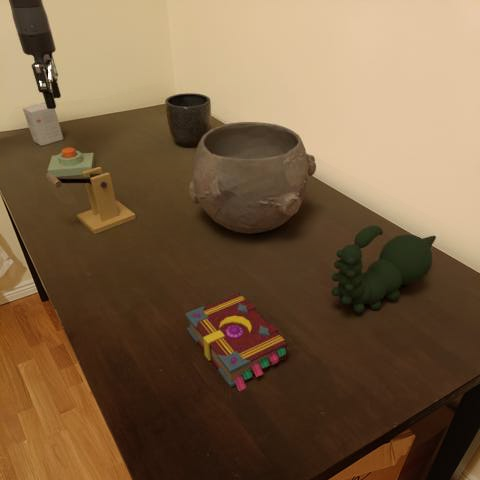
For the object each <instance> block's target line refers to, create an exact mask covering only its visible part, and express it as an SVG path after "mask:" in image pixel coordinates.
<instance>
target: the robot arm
mask: <svg viewBox="0 0 480 480" xmlns="http://www.w3.org/2000/svg"><path fill="white" fill-rule="evenodd" d="M8 4H9V6H10V10H11V16H12V20H13V23H14V27H15V30H16V32H17V36H18V39H19V42H20V45H21V50H22V52H23V53H24V54H25V55H26V56H32V57H33V61H34V62H33V63H32V64H31V69H32V72H33V75H34V79H35V82H36V86H37V90H38V92H39V93H41V94H42V96H43V99H44V103H46V106H47V108H48V109H55V110H56V108H57V103H56V101H55V99H60V98H62V95H61V91H60V86H59V83H58V80H59V79H58V78H59V73H58V70H57V66H56V64H55V60H54V56H53V53H55V52H56V50H57V48H56V44H55V40H54V37H53V33H52V29H51V25H50V21H49V17H48V14H47V11H46V9H45V6H44V2H43V0H8ZM44 85H45V86H44Z"/></svg>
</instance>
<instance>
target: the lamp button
mask: <svg viewBox="0 0 480 480" xmlns="http://www.w3.org/2000/svg"><path fill="white" fill-rule="evenodd" d="M75 151H76V149H75V148H74V147H65V148H62V149H61V153H62V154H63V157H64V158H72V157H75V156H76V152H75Z"/></svg>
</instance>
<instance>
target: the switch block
mask: <svg viewBox="0 0 480 480" xmlns="http://www.w3.org/2000/svg"><path fill="white" fill-rule="evenodd" d="M75 152H76V156H75V157H72V158H64V157H63V154H62V152H60V153H58V154H57V155H56V154H55V155H51V158H50V161H49V164H48V167H47V170H46V171H47V173H51V174H52V175H53V176H55V177H76V176H83V173H82V172H84V171H87V170H90V169H94V168H95V163H96V157H95V153H94V152H84V153H83V152H81V151H80V150H75Z"/></svg>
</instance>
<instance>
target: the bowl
mask: <svg viewBox="0 0 480 480" xmlns="http://www.w3.org/2000/svg"><path fill="white" fill-rule="evenodd" d="M316 170H317V164H316V158H315V156H314V155H311V154H308V153H307V151H306V147H305V144H304V143H303V140H302V138H301V137H300V135H299V134H298V133H297V132H295V131H294V130H292V129H290V128H287V127H286V126H282V125H279V124H276V123H269V122H260V121H259V122H258V121H238V122H231V123H230V122H229V123H226V124H221V125H219V126H216V127H214V128H212V129H211V128H210V130H209V131H208V132H207V133H206V134H204V135H203V137H202V139H201V140H200V142H199V144H198V146H196V149H195V153H194V157H193V162H192V172H191V173H192V175H191V176H192V180H191V181H190V182H189V188H188V189H189V190H188V191H189V195H190V197H191V200H192V203H193V204H194V205H197V204H199V206H200V207H201V208H202V209H203V211H204V212H205V213H206V214H207V215H208V216H209V217H210V218H211V220H213V221H214V222H215V223H216V224H218V225H220V226H222V227H224V228H226V229H227V230H230V231H232V232H235V233H240V234H247V235H250V234H258V233H260V234H261V233H265V232H269V231H272V230H275V229H277V228H278V227H281V226H282V225H284V224H285V223H286V222H287V221H289V220H290V219H291V218H292V216H294V215H295V214H297V213H298V211H299V209H300V207H301V205H302V203H303V200H304V197H305V193H306V189H307V184H308V180H309V177H312V176H314V174H315V173H316Z"/></svg>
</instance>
